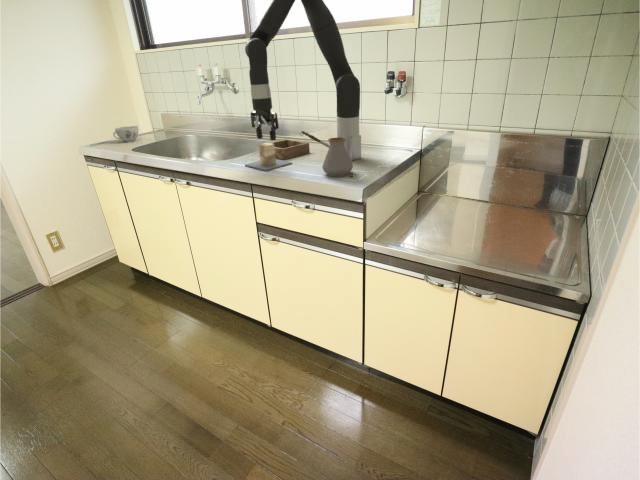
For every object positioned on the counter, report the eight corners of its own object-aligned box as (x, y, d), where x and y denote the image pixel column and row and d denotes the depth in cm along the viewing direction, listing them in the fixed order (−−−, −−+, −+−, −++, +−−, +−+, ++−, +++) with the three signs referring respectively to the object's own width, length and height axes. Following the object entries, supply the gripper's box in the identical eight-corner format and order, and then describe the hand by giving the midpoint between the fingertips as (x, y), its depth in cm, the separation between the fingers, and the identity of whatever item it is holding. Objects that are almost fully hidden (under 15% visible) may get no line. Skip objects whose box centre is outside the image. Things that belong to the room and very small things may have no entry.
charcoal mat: (292, 163, 158) (292, 162, 158) (265, 171, 150) (265, 169, 149) (271, 159, 167) (270, 158, 167) (244, 166, 159) (244, 164, 158)
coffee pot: (358, 171, 143) (358, 131, 137) (344, 179, 135) (343, 136, 128) (310, 166, 154) (308, 128, 147) (294, 173, 145) (291, 133, 138)
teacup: (133, 138, 233) (130, 125, 229) (145, 140, 226) (142, 126, 222) (110, 143, 222) (106, 129, 218) (121, 144, 215) (117, 130, 211)
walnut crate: (309, 152, 176) (309, 142, 174) (283, 159, 166) (282, 149, 164) (287, 148, 186) (286, 139, 185) (261, 154, 176) (260, 145, 174)
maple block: (276, 163, 158) (274, 143, 155) (267, 165, 155) (265, 145, 152) (269, 161, 161) (267, 142, 158) (260, 163, 158) (258, 144, 155)
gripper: (280, 96, 144) (284, 139, 151) (257, 95, 154) (262, 136, 161) (265, 98, 140) (270, 142, 147) (242, 97, 149) (248, 139, 156)
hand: (266, 139), depth 154 cm, fingers open, 8 cm apart
